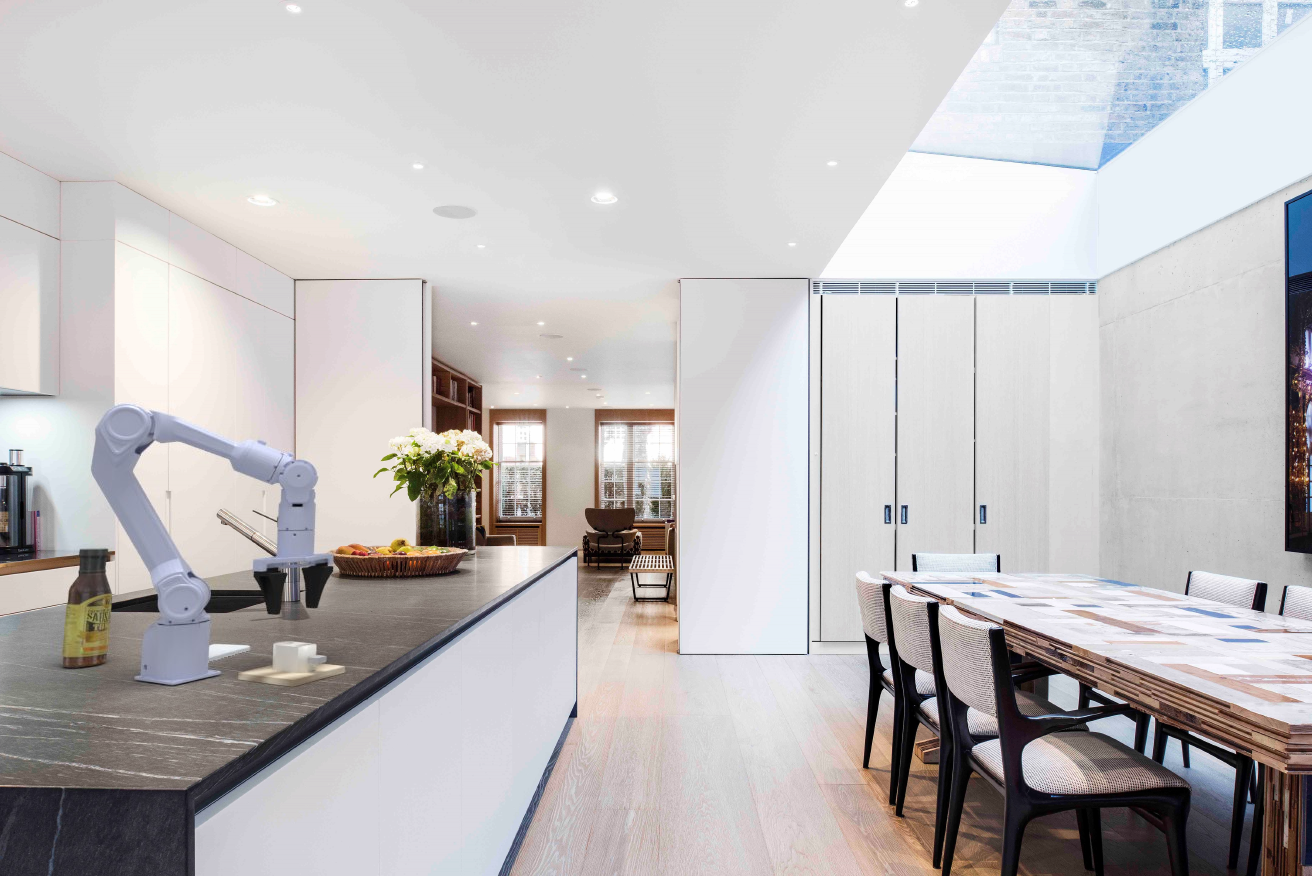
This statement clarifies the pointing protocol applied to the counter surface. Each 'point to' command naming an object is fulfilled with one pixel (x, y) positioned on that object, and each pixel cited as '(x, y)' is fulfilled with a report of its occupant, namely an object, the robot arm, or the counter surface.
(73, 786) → the counter surface
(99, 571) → the sauce bottle
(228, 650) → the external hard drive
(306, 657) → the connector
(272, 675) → the birch board
